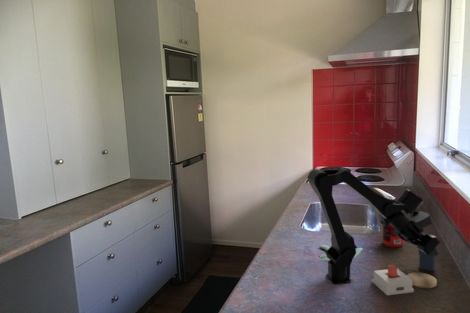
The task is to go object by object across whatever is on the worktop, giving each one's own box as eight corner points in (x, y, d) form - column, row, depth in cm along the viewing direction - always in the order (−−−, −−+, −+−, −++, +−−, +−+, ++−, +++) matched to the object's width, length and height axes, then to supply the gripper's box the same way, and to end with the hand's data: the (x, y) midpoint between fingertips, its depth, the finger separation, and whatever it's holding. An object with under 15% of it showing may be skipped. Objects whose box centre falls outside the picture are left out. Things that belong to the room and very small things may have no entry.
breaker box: (387, 295, 116) (387, 283, 115) (372, 281, 124) (372, 270, 124) (413, 292, 117) (413, 280, 116) (397, 278, 126) (397, 267, 125)
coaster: (417, 289, 118) (417, 286, 118) (400, 276, 127) (401, 274, 127) (443, 286, 119) (443, 283, 119) (425, 273, 128) (425, 271, 128)
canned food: (405, 243, 155) (406, 218, 153) (398, 249, 149) (399, 223, 148) (387, 239, 160) (387, 214, 159) (379, 245, 154) (380, 219, 153)
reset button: (390, 282, 119) (391, 268, 118) (386, 278, 122) (386, 265, 121) (398, 281, 119) (399, 267, 118) (394, 277, 122) (394, 264, 121)
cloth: (318, 265, 140) (318, 259, 140) (309, 242, 162) (309, 237, 162) (373, 263, 139) (373, 257, 139) (357, 241, 161) (357, 236, 160)
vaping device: (419, 265, 135) (420, 233, 133) (435, 269, 131) (436, 236, 130) (417, 268, 133) (418, 236, 131) (433, 271, 129) (434, 239, 128)
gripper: (435, 214, 119) (464, 243, 122) (401, 199, 137) (427, 225, 140) (412, 239, 119) (442, 268, 122) (381, 221, 137) (408, 247, 140)
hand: (429, 250), depth 131 cm, fingers open, 7 cm apart
